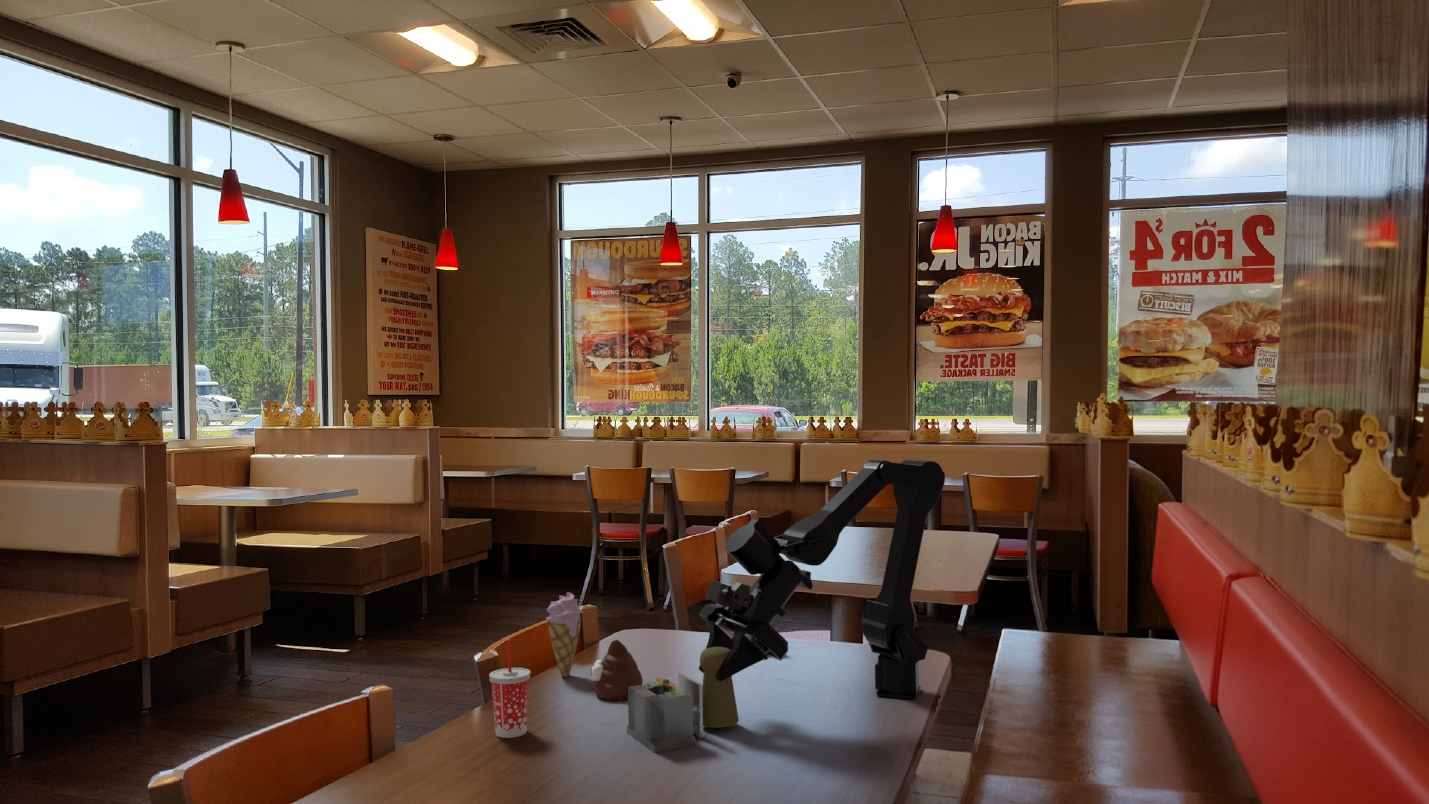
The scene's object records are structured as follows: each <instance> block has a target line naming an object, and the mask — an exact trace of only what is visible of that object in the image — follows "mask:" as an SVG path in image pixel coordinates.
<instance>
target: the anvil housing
mask: <svg viewBox="0 0 1429 804" xmlns="http://www.w3.org/2000/svg"><path fill="white" fill-rule="evenodd" d="M669 683H671V684H673V685H675V684H674V683H673V682H671V681H669ZM627 703H628V705H627V706H628V707H627V708H628V711H627V712H628V713H627V714H628V725H626V733H627V734H628V735H630V736H631V737H633V738H634V739H635V740H637V741H638V742H639V743H641V744H642V745H644V747H646V748H648V749H649V750H650V751H652V752H653V753H660V752H664V751H670V750H674V749H681V748H684V747H685V748H686V747H690V746H691V747H692V746H695V745H697V744H696V736H694V733H693V708H692V694H691V693H689V692H687V691H685V690H684V691H680V690H679V689H676V691H671V690H670V689H669V692H664V694H663V685H661V684H659V683H658V682H656V680H655V681H648V682H646V683H643V684H642V685H637V686H631V687H628V699H627Z"/></svg>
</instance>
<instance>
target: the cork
mask: <svg viewBox="0 0 1429 804" xmlns="http://www.w3.org/2000/svg"><path fill="white" fill-rule="evenodd" d="M730 651H731V650H730V649H728V648H725V647H711V648H707V649H706V648H704V649H703V650H702V652H701V653H700V656H699V666H700V665H701V668H702V669H703V670H704V673H703V679H702V698H703V727H707V728H708V727H709V728H725V727H726V728H727V727H731V726H734V725H736V724H737V723H739V721H740V718H739V713H738V707H737V701H736V695H735V694H736V693H735V687H734V682H733V675H732V676H730V677H729V678H727V679H725V680H723V681H721V682H720V681H718V680H717V679H716V674H717V672H718V670H719V669H720V667H721V665H722V664H723V662H724V660H725V659H726V657H727V655H728V654H729V652H730Z"/></svg>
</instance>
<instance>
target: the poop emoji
mask: <svg viewBox="0 0 1429 804" xmlns="http://www.w3.org/2000/svg"><path fill="white" fill-rule="evenodd" d="M590 677H591V678H592V680H594V681H593V682H594V685H593V690H594V693H595V695H596V696H597V698H599V699H601V700H605V701H616V702H617V701H628V687H631V686H637V685H643V684H644V682H643V676H642V673H641V671H640V670H639V668H638V663H637V661H636V660H635V659H634V657H633V655H632V654H631V653H630V652H629V651H628V649H627V647H626V646H625V645H624V644H623V643H622V642H621V641H620V640H619V639H614V640H612V641H611V642H610V645H609V646H608V649H607V652H606V654H605V655H604V657H603V658H602V659H597V660H596V661H595V662H594V664H593V666H592V668H591V669H590Z"/></svg>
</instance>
